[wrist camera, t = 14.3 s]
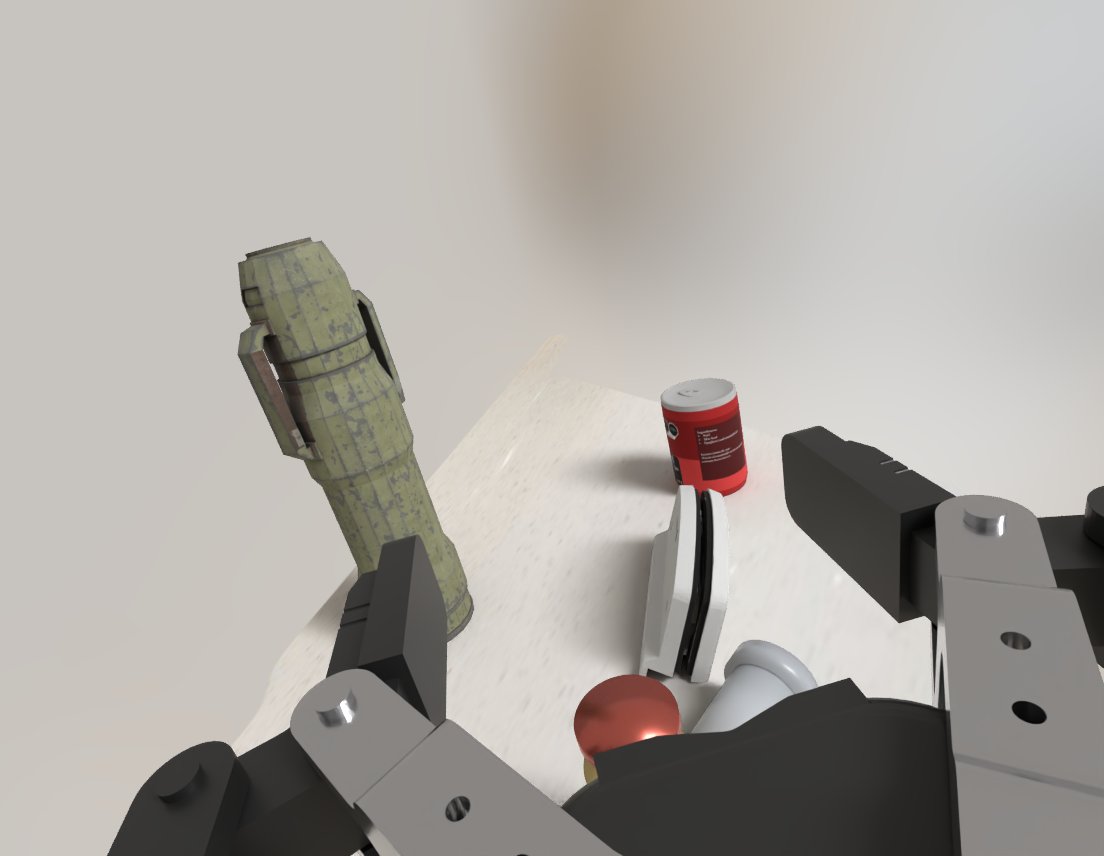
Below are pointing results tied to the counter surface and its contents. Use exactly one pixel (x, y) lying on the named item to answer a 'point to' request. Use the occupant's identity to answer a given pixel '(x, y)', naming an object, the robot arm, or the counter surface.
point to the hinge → (687, 587)
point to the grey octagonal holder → (754, 685)
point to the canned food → (705, 435)
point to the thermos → (341, 406)
